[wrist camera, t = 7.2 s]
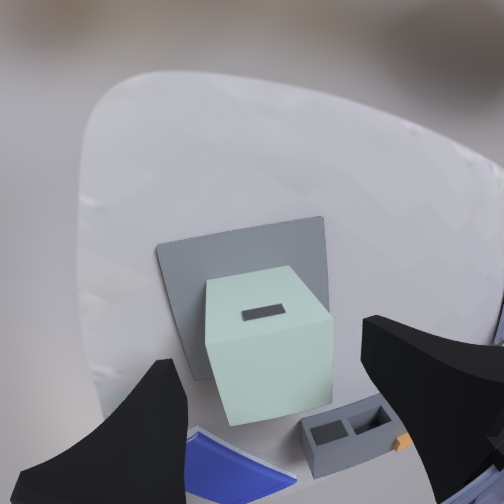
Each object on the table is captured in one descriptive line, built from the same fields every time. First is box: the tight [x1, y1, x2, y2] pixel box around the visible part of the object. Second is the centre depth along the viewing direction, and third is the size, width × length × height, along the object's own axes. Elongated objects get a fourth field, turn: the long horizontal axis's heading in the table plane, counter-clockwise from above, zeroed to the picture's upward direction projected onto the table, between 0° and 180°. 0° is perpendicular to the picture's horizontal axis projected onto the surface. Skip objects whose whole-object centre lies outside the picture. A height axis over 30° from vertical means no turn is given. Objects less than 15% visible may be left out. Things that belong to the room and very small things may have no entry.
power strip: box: [301, 393, 414, 479], centre depth 16 cm, size 9×4×4 cm, turn 99°
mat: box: [156, 216, 329, 381], centre depth 14 cm, size 8×8×1 cm
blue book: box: [184, 425, 297, 504], centre depth 18 cm, size 2×8×12 cm
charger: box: [205, 265, 333, 426], centre depth 12 cm, size 4×6×6 cm
